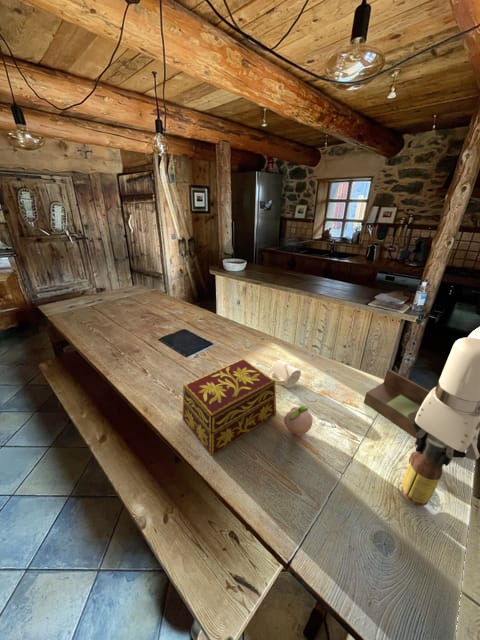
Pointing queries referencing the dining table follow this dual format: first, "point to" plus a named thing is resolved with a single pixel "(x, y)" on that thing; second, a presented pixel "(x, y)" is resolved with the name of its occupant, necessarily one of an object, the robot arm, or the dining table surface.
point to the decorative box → (228, 404)
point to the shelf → (397, 400)
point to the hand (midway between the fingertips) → (430, 455)
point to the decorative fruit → (298, 420)
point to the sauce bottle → (424, 472)
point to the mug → (284, 374)
